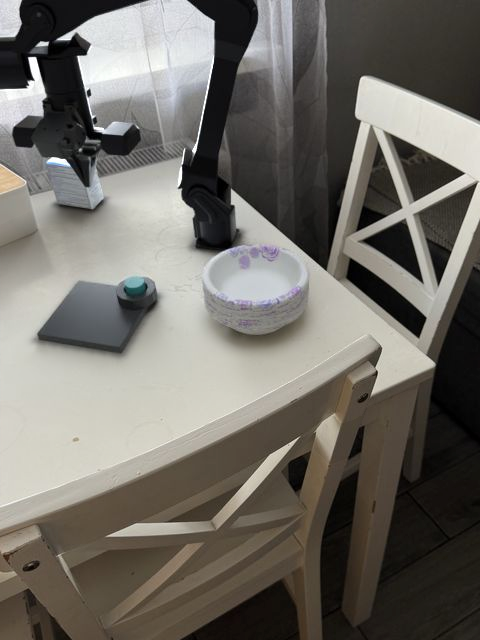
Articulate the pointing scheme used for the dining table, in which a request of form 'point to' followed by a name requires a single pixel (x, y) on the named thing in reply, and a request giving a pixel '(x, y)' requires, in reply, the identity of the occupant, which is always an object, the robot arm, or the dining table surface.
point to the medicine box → (72, 186)
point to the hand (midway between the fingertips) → (88, 186)
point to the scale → (98, 316)
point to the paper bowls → (256, 288)
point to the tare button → (135, 285)
